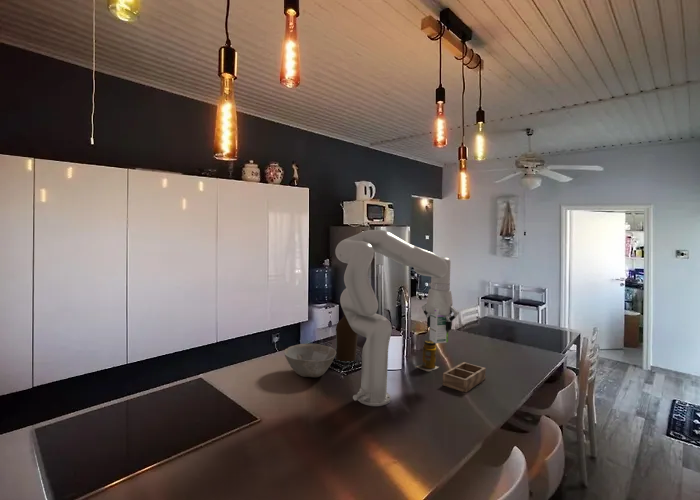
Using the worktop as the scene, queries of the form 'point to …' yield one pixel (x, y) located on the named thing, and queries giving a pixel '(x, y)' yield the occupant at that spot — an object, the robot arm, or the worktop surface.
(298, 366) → the ceramic bowl
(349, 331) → the olive oil
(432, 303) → the robot arm
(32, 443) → the worktop surface
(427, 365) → the condiment
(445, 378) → the box
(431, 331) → the syrup box
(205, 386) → the worktop surface
